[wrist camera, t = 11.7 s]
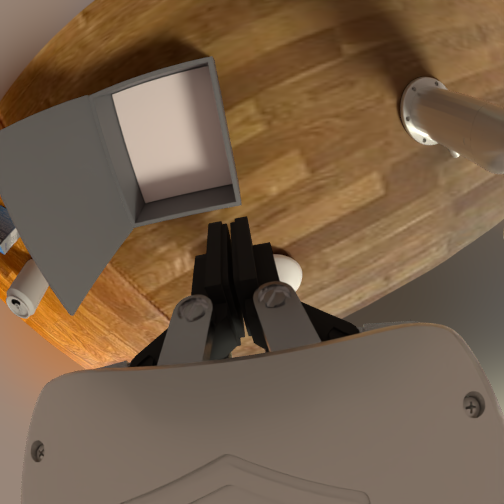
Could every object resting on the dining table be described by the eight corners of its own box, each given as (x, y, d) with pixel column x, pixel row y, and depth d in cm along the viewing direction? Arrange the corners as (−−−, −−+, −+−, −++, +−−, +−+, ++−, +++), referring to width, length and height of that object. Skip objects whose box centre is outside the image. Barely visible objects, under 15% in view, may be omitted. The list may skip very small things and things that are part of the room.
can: (43, 254, 47) (17, 293, 37) (58, 281, 51) (37, 321, 41) (22, 258, 47) (-3, 295, 37) (37, 284, 51) (16, 321, 41)
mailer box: (214, 59, 32) (212, 56, 26) (238, 185, 43) (241, 204, 38) (108, 91, 32) (88, 96, 26) (143, 206, 44) (132, 228, 38)
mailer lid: (-17, 139, 13) (-20, 142, 13) (73, 315, 25) (69, 315, 25) (87, 94, 26) (84, 96, 26) (133, 229, 38) (130, 229, 38)
